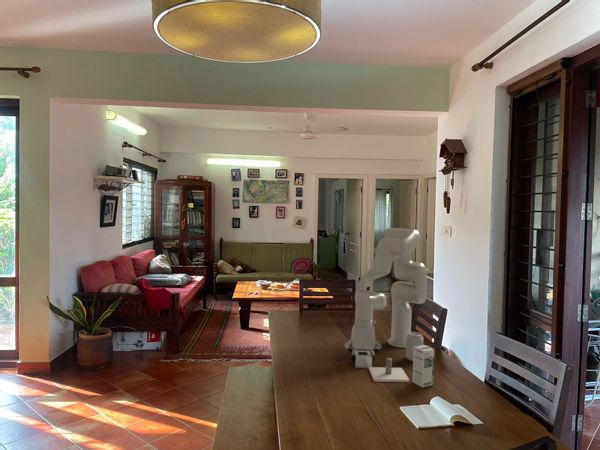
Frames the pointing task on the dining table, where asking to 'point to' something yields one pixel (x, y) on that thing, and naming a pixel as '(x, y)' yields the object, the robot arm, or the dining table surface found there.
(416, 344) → the can
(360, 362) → the grey hollow square block
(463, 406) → the dining table surface
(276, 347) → the dining table surface
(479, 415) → the dining table surface
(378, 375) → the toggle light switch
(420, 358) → the syrup box
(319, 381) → the dining table surface
